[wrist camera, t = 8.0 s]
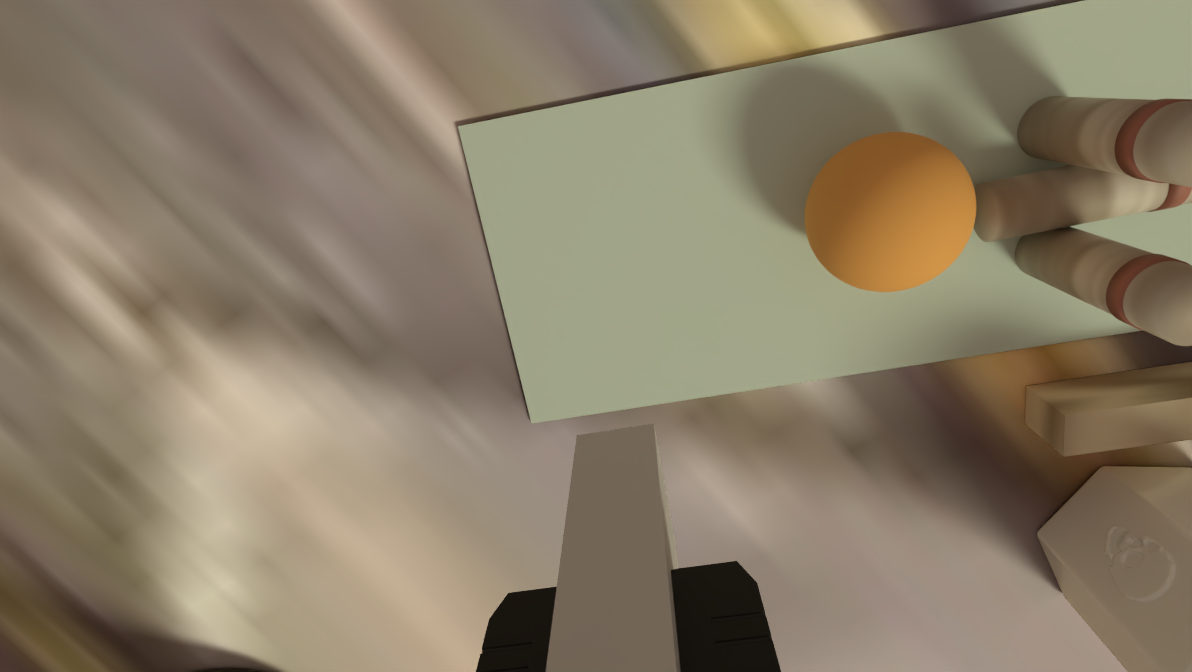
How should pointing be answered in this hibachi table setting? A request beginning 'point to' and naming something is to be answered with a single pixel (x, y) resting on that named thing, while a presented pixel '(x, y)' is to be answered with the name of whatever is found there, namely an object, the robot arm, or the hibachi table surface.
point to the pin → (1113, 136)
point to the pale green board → (791, 211)
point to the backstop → (1113, 410)
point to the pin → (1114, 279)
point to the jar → (1129, 562)
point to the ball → (890, 212)
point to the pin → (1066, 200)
